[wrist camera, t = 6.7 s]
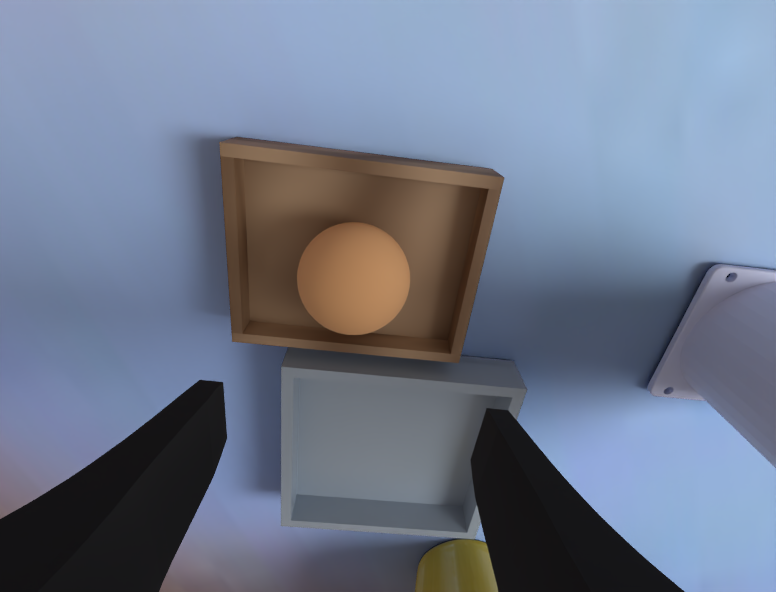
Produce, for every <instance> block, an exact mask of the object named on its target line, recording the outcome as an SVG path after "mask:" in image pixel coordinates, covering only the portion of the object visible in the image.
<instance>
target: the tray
mask: <svg viewBox="0 0 776 592" xmlns="http://www.w3.org/2000/svg"><path fill="white" fill-rule="evenodd" d="M219 143H220V159H221V174H222V190H223V205H224V221H225V236H226V252H227V267H228V283H229V298H230V314H231V329H232V342H241V343H252V344H262V345H273V346H283V347H294V348H304V349H315V350H325V351H336V352H346V353H357V354H367V355H378V356H388V357H399V358H409V359H420V360H430V361H441V362H451V363H459V361H460V356H461V352H462V348H463V344H464V340H465V336H466V332H467V328H468V324H469V320H470V316H471V312H472V308H473V303H474V299H475V295H476V291H477V287H478V283H479V279H480V275H481V271H482V267H483V263H484V259H485V255H486V250H487V246H488V242H489V238H490V234H491V230H492V226H493V222H494V218H495V214H496V210H497V206H498V202H499V197H500V193H501V189H502V185H503V181H504V177H503V176H501V175H500V174H499V173H497V172H496V171H494V170H493V169H489V168H481V167H473V166H465V165H457V164H449V163H441V162H433V161H425V160H417V159H409V158H401V157H393V156H386V155H378V154H370V153H362V152H354V151H346V150H338V149H330V148H322V147H314V146H306V145H298V144H290V143H282V142H274V141H266V140H258V139H250V138H242V137H235V138H231V139H228V140H225V141H222V142H219ZM347 222H360V223H366V224H369V225H373V226H375V227H377V228H380V229H381V230H383V231H385V232H386V233H387V234H389V235H390V236H391V237H392V238H393V239H394V240H395V241H396V242H397V243H398V244H399V246H400V247H401V249H402V250H403V252H404V254H405V256H406V259H407V262H408V265H409V270H410V288H409V292H408V296H407V299H406V301H405V304H404V305H403V307H402V309H401V310H400V312H399V313H398V314H397V316H396V317H395V318H394V319H393V320H392V321H391V322H389V323H388V324H387V325H385V326H384V327H382V328H380V329H378V330H376V331H374V332H371V333H367V334H362V335H346V334H341V333H337V332H334V331H331V330H329V329H327V328H325V327H324V326H322V325H321V324H319V323H318V322H317V321H316V320H315V319H314V318H313V317H312V316H311V315H310V314H309V313H308V311H307V310H306V308H305V307H304V305H303V303H302V300H301V298H300V295H299V291H298V286H297V271H298V266H299V262H300V259H301V256H302V254H303V252H304V250H305V249H306V247H307V246H308V244H309V243H310V242H311V241H312V240H313V239H314V238H315V237H316V236H317V235H318V234H320V233H321V232H322V231H324V230H326V229H328V228H329V227H332V226H334V225H337V224H341V223H347Z"/></svg>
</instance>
